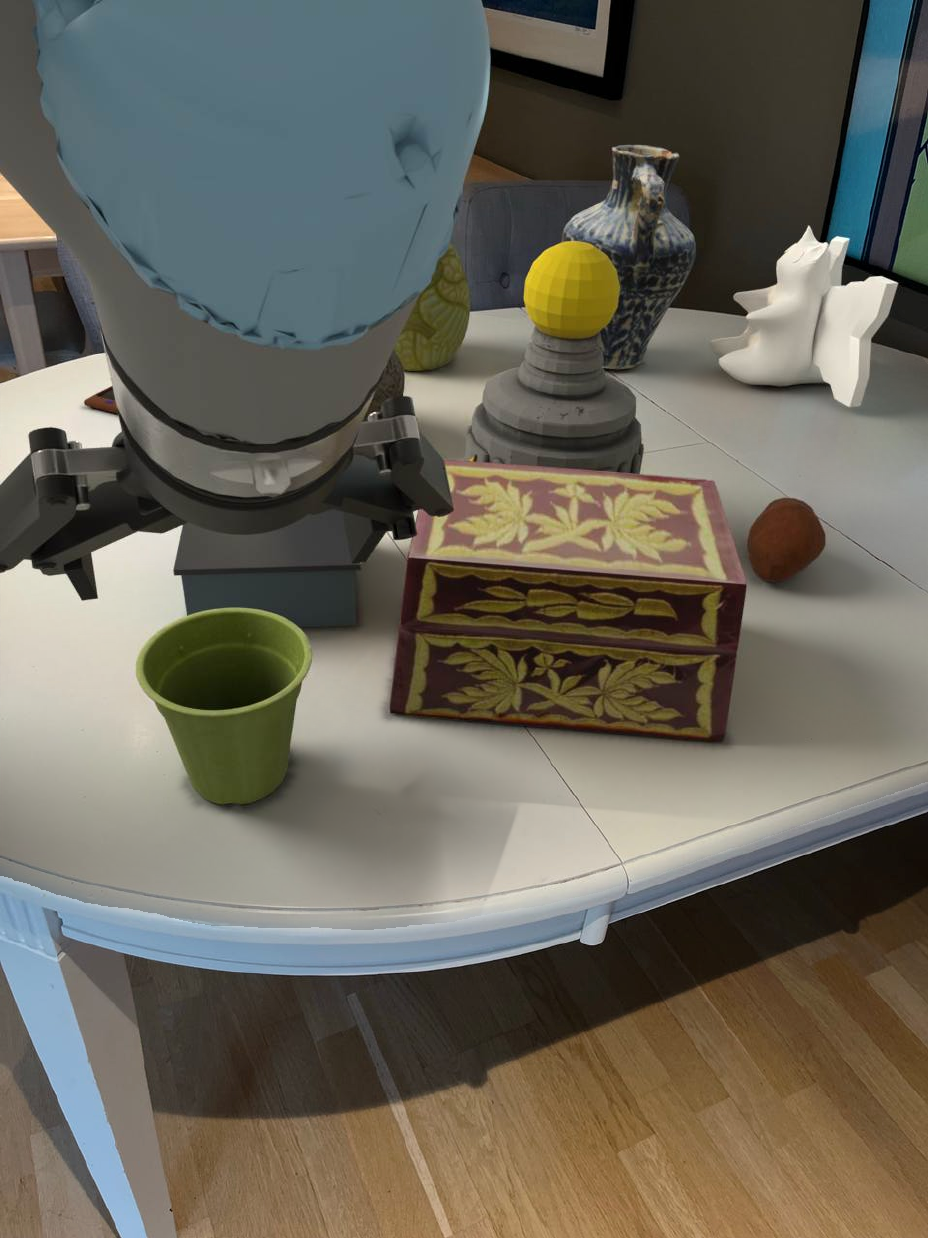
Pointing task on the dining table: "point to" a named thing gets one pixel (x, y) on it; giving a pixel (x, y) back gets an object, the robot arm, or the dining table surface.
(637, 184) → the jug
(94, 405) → the smartphone
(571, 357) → the decorative lamp
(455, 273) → the decorative sculpture
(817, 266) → the cat figurine
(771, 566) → the potato
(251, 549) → the container
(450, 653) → the decorative box
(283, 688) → the plant pot
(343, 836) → the dining table surface
